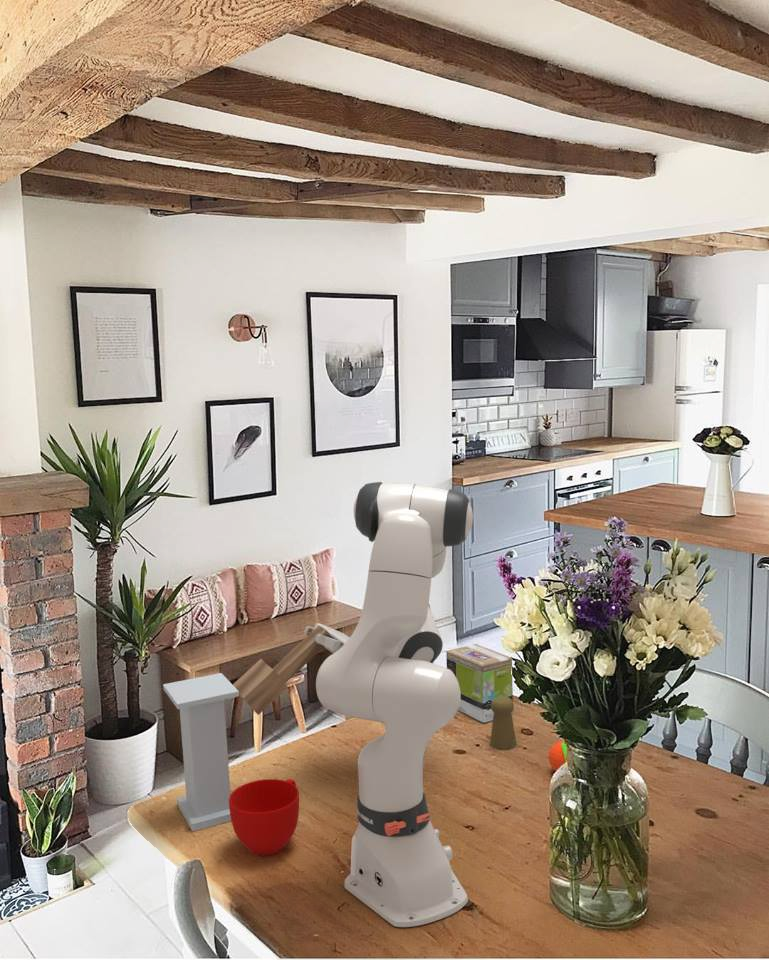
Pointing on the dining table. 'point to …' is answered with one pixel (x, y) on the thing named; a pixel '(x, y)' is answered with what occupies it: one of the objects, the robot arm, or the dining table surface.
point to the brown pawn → (502, 724)
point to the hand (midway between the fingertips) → (311, 633)
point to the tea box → (480, 679)
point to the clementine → (558, 755)
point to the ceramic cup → (265, 814)
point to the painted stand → (204, 748)
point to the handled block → (276, 673)
